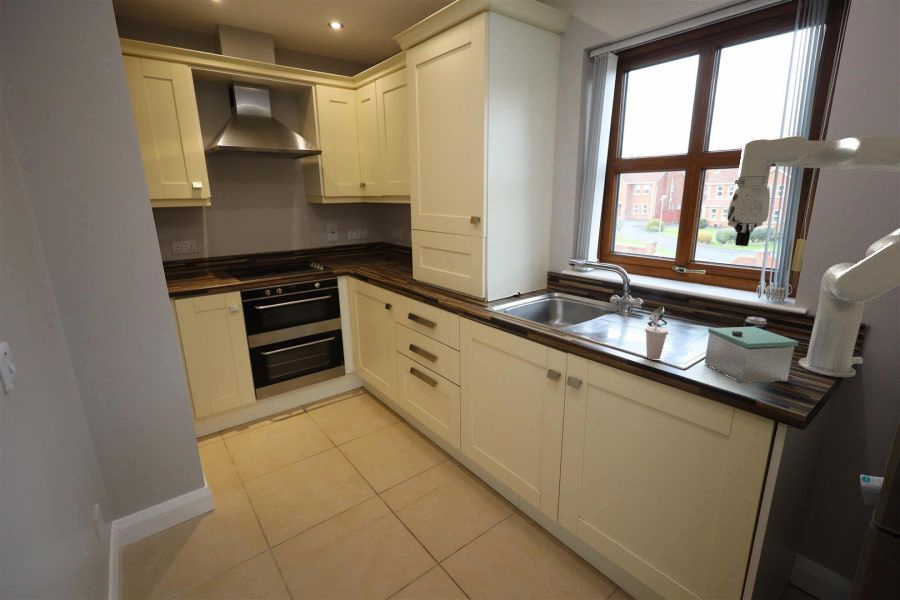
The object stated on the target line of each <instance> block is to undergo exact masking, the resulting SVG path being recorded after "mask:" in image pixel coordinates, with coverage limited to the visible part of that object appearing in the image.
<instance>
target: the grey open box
mask: <svg viewBox="0 0 900 600" xmlns="http://www.w3.org/2000/svg"><path fill="white" fill-rule="evenodd" d="M794 351H795V346H783V347H762V348H746V347H744V346H741V345H739V344H736V343H734V342H731V341H729V340H726V339H724V338H721V337H719V336H716V335H714V334H711V333H709V332H708V339H707V346H706V352H705V359H704V364H705V363H706V364H707V365H709V366H711V367H713V368H715V369H717V370H719V371H720V372H722V373H724V374H726V375H728V376H730V377H732V378H734V379H736V380H737V381H739V382H741V383H746V384H753V383H752V382H763V383H775V381H781V382H788V379H789V374H790V370H791V365H792V359H793V355H794ZM707 365H706V366H707ZM709 366H708V367H709ZM711 367H710V368H711ZM713 368H712V369H713ZM715 369H714V370H715ZM717 370H716V371H717ZM719 371H718V372H719ZM720 372H719V373H720ZM722 373H721V374H722ZM724 374H723V375H724ZM726 375H725V376H726ZM728 376H727V377H728ZM730 377H729V378H730ZM732 378H731V379H732ZM737 381H736V382H737ZM739 382H738V383H739ZM749 382H751V383H749ZM741 383H740V384H741Z"/></svg>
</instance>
